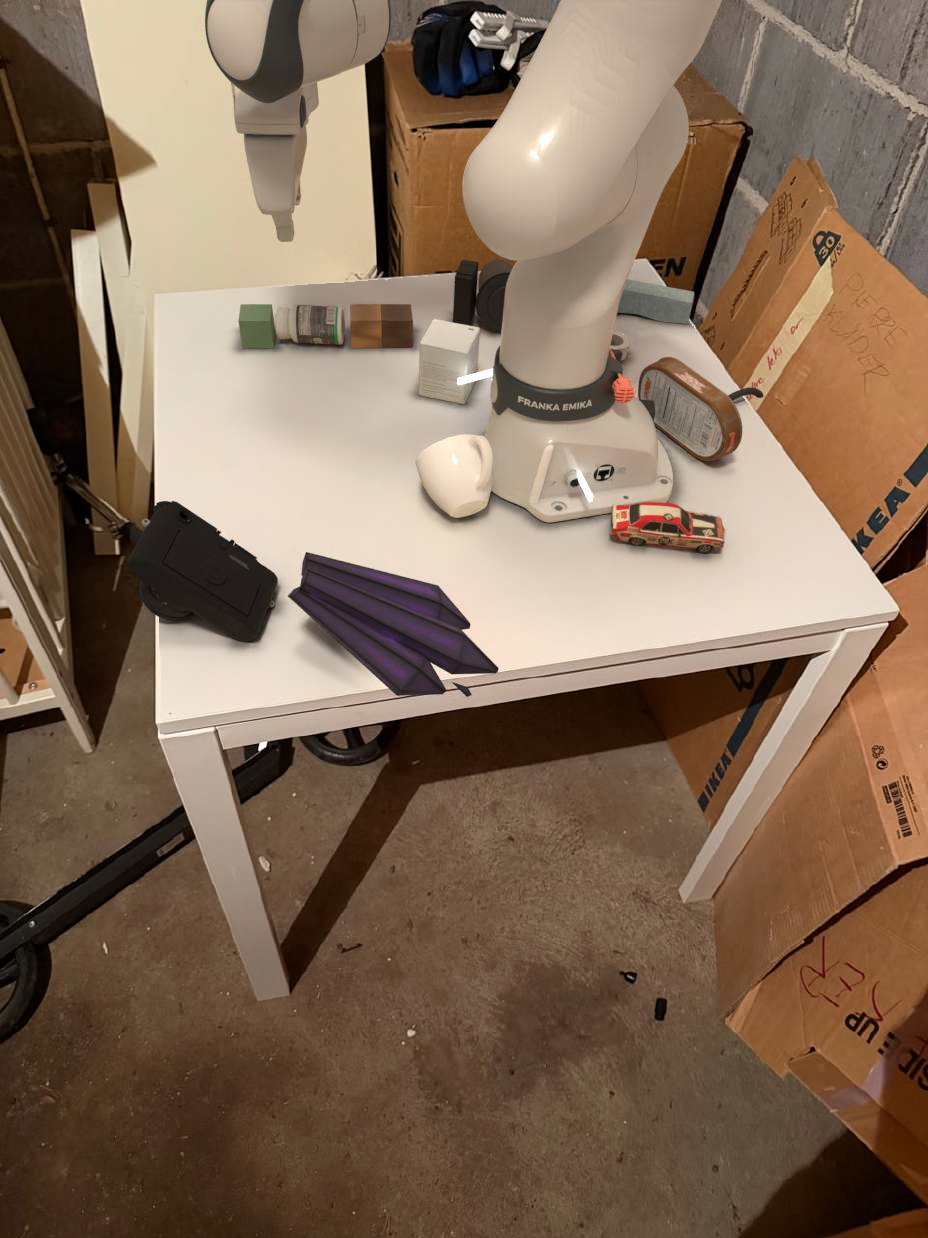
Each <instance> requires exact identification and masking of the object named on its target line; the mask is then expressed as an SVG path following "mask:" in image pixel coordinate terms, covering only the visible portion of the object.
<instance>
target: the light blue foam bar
mask: <svg viewBox="0 0 928 1238" xmlns="http://www.w3.org/2000/svg"><path fill="white" fill-rule="evenodd" d="M695 297H696V296H695V291H691V290H687V289H683V288H682V289H681V288H677V287H676V288H675V287H672V286H671V287H670V286H666V285H660V284H659V285H658V284H654V283H649V282H644V281H638V280H634V279H628V278H627V281H626V283H625V286H624V289H623V292H622V296H621V299H620V302H619V306H618V311H617V314H630V315H631V314H633V315H639V316H641V317H644V318H648V319H652V320H654V321H658V322H661V323H673V324H684V325H689V322H690V318H691V317H690V316H691V313H692V310H693V306H694V303H695Z"/></svg>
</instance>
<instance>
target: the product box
mask: <svg viewBox="0 0 928 1238" xmlns="http://www.w3.org/2000/svg"><path fill="white" fill-rule="evenodd" d="M480 334H481V328H480V327H479V326H473V325H471V326H468V325H463V324H458V323H453V321H448V320H442V319H436V318H434V319H432V320H431V322H430V324H429V326H428V328H427V330H426V331H425V333H424V335H423V336H422V338H421V340H420V342H419V355H418V356H419V360H418V361H419V363H418V365H419V366H418V395H419V396H420V397H424V398H425V397H426V398H431V399H435V400H436V399H437V400H442V401H446V402H451V403H454V404H455V403H456V404H459V405H465V404H466V403H467V400H468V399H469V396H470V394H471V392H472V390H473V388H474V385H475V383H476V381H472V382H468V383H465V384H461V385H458V378H461V377H464V376H468V375H472V374H475V373H478V367H479V353H480V352H479V351H480V350H479V349H480V338H481V337H480V336H481V335H480Z"/></svg>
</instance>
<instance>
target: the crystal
mask: <svg viewBox="0 0 928 1238" xmlns="http://www.w3.org/2000/svg"><path fill="white" fill-rule="evenodd" d="M301 563H302V564H301V575H300V576H302V577H301V578H300V584H299V586H297V587H295V588H293V589H292V590H291V592H289V594H288V595H287V597H288V598H289V599H290V600H291V601H292V602H293V603H294V604H295V605H297V607H299V609H301V610H302V611H303V612H305V614H307V615H308V617H310V618H311V619H312V620H313V621H314V622H315V623H316V624H318V626H320V627H321V628H322V629H323V630H324V631H325V632H326V633H327V634H328V635H329V636H330V637H331V638H333V640H335V641H336V642H337V643H338V644H340V646H341V647H342V648H344V649H345V650H346V651H347V652H348V653H349V654H350V655H351V656H352V657H353V658H355V659H356V660H357V661H358V662H359V663H360V664H361V665H362V666H363V667H365V668H366V669H367V670H368V671H369V672H370V673H371V674H372V675H373V676H375V678H377V680H379V681H380V682H381V683H382V684H383V685H384V686H386V688H387V689H388V690H390V691H391V692H392V693H393V694H394V695H395V696H396V697H401V696H402V697H403V696H405V697H406V696H433V695H434V696H436V695H437V696H439V695H444V694H445V693H446V692H447V688H446V687H445V684H444V683H443V682H442V679H441V678H440V676H439V675H438V673H437V672H436V669H435V667H434V666H436V667H437V668H439V669H441V670H443V671H444V672H446V673H448V674H450V675H484V674H485V675H488V674H489V675H490V674H492V675H493V674H497V673H498V672H499V670H500V669H499V666H497V664H495V663H494V661H493V660H492V659H490V657H489V656H488V655H487V654H486V653H484V651H483V650H482V649H481V648H480V647H479V646H478V645H477V644H476V643H475V642H474V641H473V640H472V639H471V638H470V637H469V636H468V635H467V634H466V633H465V632H464V631H465V630H470V629H471V622H470V621H469V619H468V618H467V617H466V616H465V615H464V614H463V613H462V612H461V610H460V609H459V608H458V607H457V606H456V605H455V603H454V602H453V601H452V600H451V598H450V597H449V596H448V595H447V594H446V593H445V592H444V591H443V589H442V588H441V587H440V586H439V585H438V584H434V583H430V582H427V581H422V580H418V579H415V578H412V577H407V576H402V575H398V574H395V573H391V572H387V571H383V570H380V569H375V568H371V567H367V566H363V565H360V564H357V563H356V564H355V563H351V562H348V561H344V560H339V559H335V558H332V557H327V556H324V555H320V554H316V553H312V552H309V551H305V554H304V557H303V559H302V562H301ZM463 630H464V631H463ZM451 683H452V684H453V685H454V686H455V687H456V688H457V689H458V690H459V691H460V693H462V694H463V695H464V696H465V697H466V698H469V697H471V696H472V695H473V694H472V692H471V690H470V689H469V687H468V686H466V685H463V684H460V683H457V682H453V681H451Z"/></svg>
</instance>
